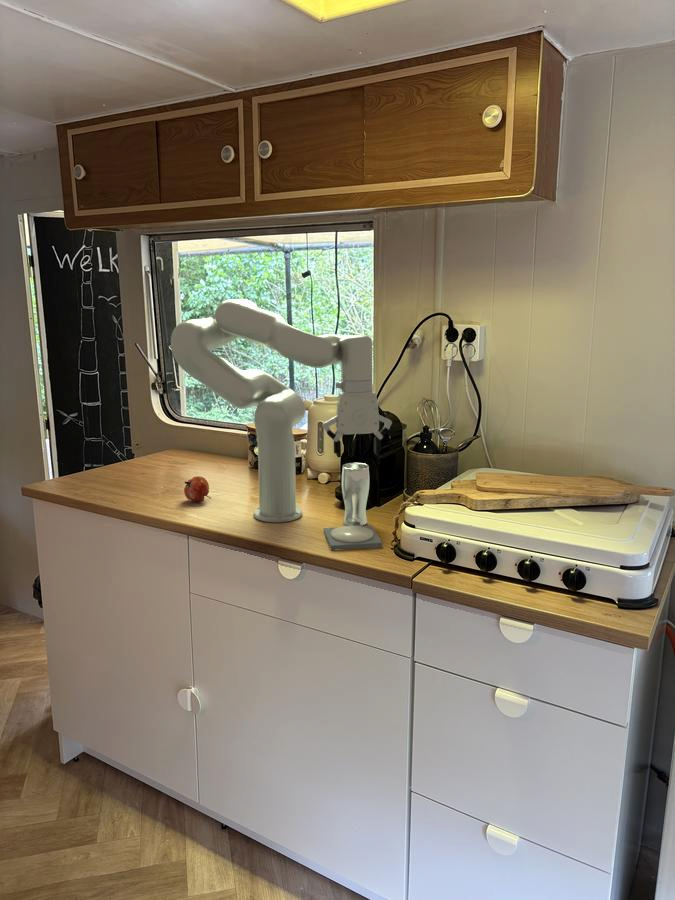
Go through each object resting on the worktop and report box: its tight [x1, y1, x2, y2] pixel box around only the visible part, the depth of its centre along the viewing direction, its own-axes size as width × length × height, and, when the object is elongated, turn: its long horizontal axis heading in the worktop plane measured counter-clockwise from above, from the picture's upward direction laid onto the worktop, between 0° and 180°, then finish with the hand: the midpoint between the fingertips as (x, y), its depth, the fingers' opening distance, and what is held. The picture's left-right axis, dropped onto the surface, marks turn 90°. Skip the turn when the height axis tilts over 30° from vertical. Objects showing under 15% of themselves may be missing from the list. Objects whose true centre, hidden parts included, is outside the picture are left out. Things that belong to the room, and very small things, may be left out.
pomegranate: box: [183, 476, 212, 504], centre depth 196 cm, size 7×7×10 cm
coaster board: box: [323, 525, 383, 551], centre depth 166 cm, size 12×12×2 cm
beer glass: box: [341, 462, 370, 526], centre depth 177 cm, size 7×7×15 cm
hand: (357, 455), depth 174 cm, fingers open, 9 cm apart
